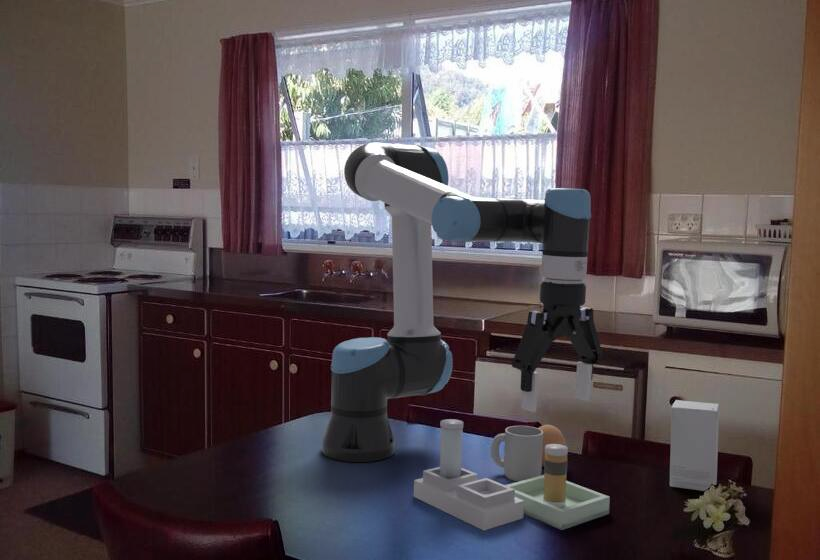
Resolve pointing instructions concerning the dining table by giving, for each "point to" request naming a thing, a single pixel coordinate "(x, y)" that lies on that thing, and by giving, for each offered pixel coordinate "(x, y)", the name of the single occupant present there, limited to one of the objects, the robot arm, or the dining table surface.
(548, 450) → the cylinder
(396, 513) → the dining table surface
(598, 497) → the parts tray
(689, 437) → the skincare box
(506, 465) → the cup
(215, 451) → the dining table surface
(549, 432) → the egg
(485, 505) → the block
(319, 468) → the dining table surface
